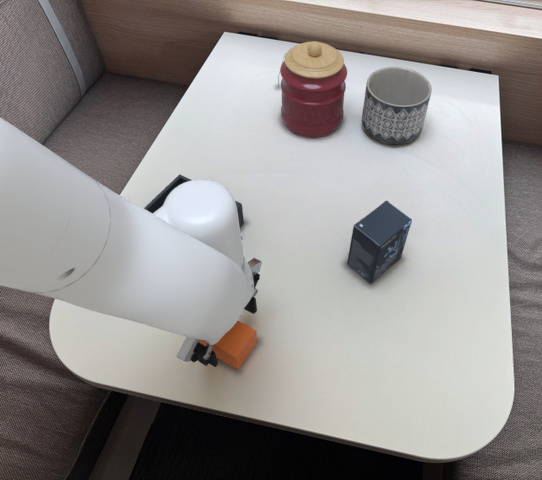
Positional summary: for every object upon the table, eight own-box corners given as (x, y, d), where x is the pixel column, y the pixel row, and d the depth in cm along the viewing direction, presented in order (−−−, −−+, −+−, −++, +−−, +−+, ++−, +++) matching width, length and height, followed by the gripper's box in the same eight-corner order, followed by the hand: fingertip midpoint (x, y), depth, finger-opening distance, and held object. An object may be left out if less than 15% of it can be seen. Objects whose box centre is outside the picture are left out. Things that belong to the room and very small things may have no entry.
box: (370, 285, 85) (379, 246, 76) (346, 264, 87) (351, 224, 79) (401, 259, 88) (413, 219, 80) (377, 239, 91) (386, 198, 82)
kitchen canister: (279, 100, 113) (278, 24, 99) (338, 98, 114) (345, 23, 100) (282, 140, 105) (281, 63, 91) (346, 138, 106) (354, 62, 92)
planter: (389, 156, 104) (398, 115, 95) (348, 123, 109) (353, 81, 101) (433, 132, 109) (445, 90, 101) (392, 101, 115) (399, 59, 106)
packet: (238, 369, 75) (235, 357, 72) (199, 347, 77) (195, 334, 74) (257, 342, 78) (256, 330, 75) (219, 321, 80) (216, 308, 76)
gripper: (229, 208, 67) (241, 279, 81) (139, 309, 58) (169, 370, 72) (279, 231, 65) (282, 300, 79) (193, 340, 56) (213, 397, 70)
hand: (228, 333), depth 75 cm, fingers open, 9 cm apart
